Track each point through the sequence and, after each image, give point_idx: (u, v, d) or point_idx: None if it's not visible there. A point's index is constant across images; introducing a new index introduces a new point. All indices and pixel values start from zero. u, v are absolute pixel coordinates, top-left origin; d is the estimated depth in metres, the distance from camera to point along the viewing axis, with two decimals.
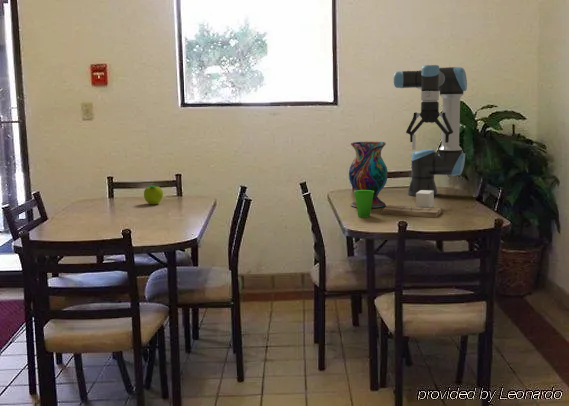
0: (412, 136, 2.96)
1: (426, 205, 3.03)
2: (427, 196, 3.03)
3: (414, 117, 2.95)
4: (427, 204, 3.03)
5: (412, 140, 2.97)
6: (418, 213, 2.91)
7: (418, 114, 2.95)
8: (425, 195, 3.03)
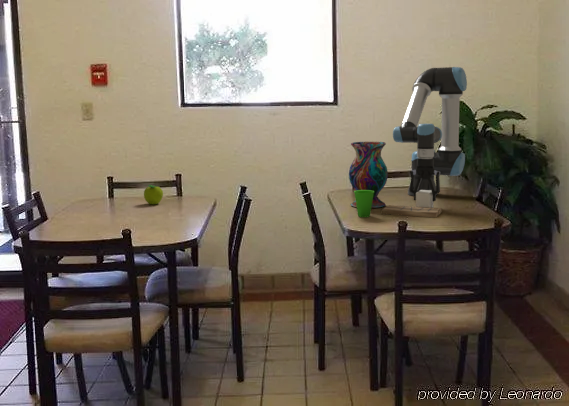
0: None
1: (426, 205, 3.03)
2: (427, 196, 3.02)
3: (412, 175, 3.08)
4: (427, 204, 3.03)
5: None
6: (418, 213, 2.91)
7: (414, 171, 3.08)
8: (425, 195, 3.03)
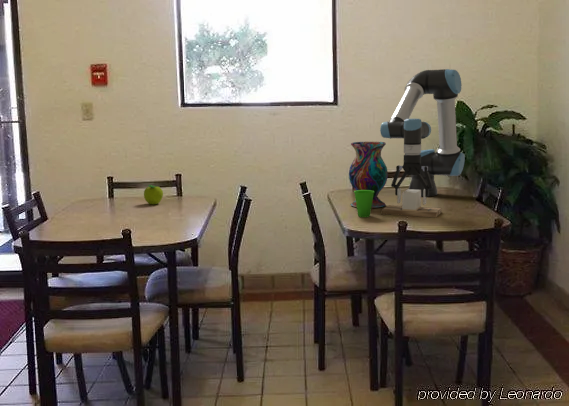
0: (397, 190, 2.98)
1: (413, 205, 2.93)
2: (414, 195, 2.92)
3: (397, 170, 2.97)
4: (414, 204, 2.92)
5: (397, 194, 2.98)
6: (418, 213, 2.91)
7: (401, 167, 2.97)
8: (412, 194, 2.92)
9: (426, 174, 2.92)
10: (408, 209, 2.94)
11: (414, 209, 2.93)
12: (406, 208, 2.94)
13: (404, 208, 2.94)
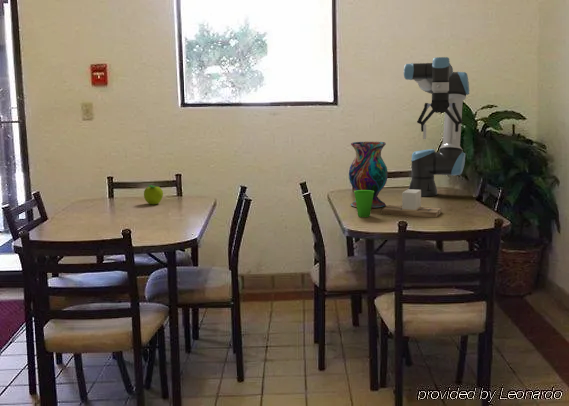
0: (423, 126, 3.08)
1: (413, 205, 2.93)
2: (414, 195, 2.92)
3: (425, 107, 3.06)
4: (414, 204, 2.92)
5: (423, 130, 3.08)
6: (418, 213, 2.91)
7: (429, 104, 3.06)
8: (412, 194, 2.92)
9: (455, 110, 3.01)
10: (408, 209, 2.94)
11: (414, 209, 2.93)
12: (406, 208, 2.94)
13: (404, 208, 2.94)
